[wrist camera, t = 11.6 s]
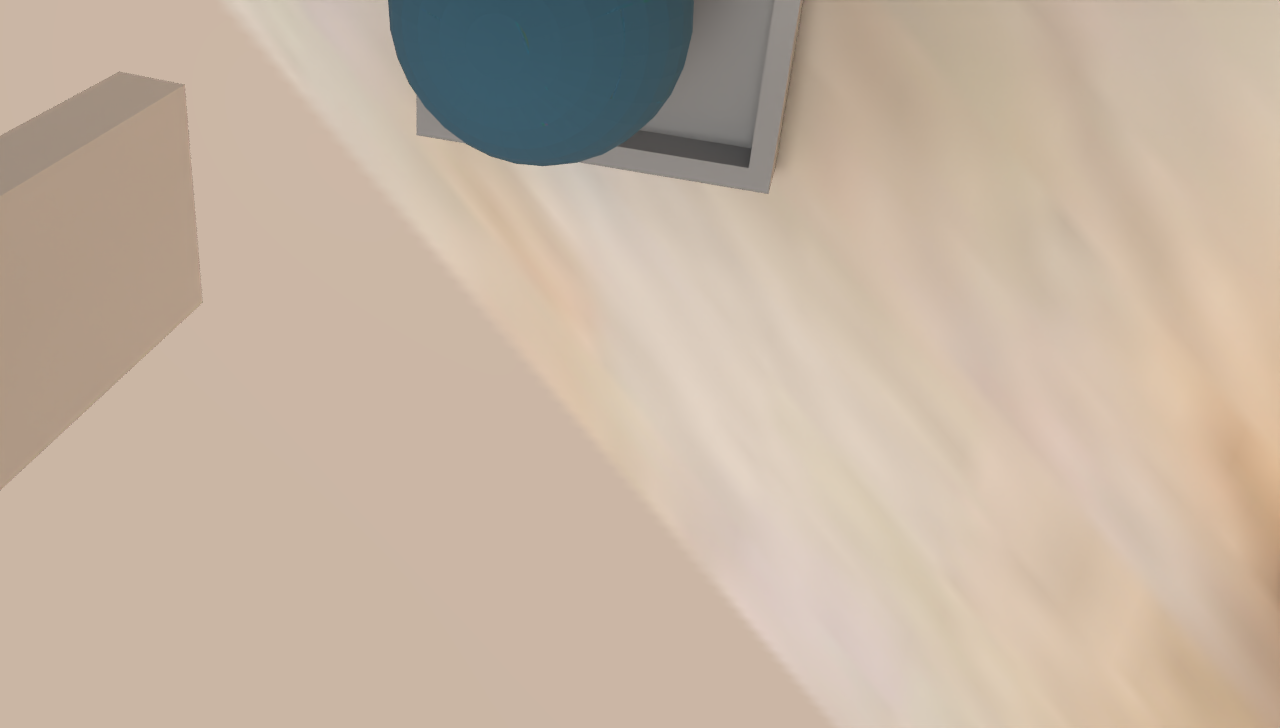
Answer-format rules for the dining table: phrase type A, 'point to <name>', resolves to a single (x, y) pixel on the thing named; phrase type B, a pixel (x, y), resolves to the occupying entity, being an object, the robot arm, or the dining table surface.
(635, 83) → the light bulb
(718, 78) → the parts tray
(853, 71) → the dining table surface
